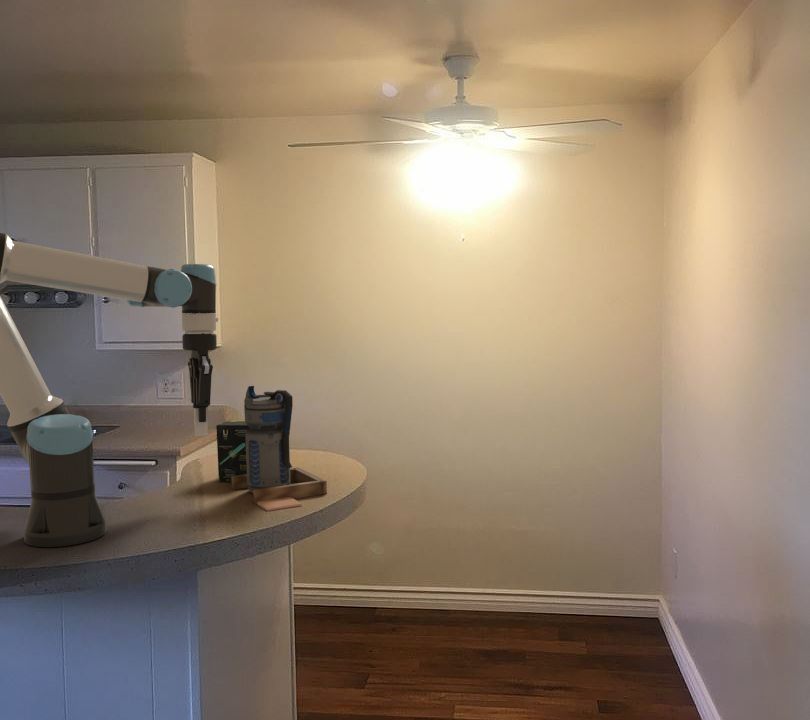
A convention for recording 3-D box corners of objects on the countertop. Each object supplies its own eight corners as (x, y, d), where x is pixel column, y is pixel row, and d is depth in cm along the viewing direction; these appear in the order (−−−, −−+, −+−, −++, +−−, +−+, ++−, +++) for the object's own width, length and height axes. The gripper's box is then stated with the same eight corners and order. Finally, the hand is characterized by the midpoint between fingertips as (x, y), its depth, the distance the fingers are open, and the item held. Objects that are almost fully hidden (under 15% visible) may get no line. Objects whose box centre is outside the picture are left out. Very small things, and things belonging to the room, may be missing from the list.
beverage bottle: (279, 499, 189) (275, 390, 186) (236, 493, 196) (232, 388, 193) (307, 490, 197) (303, 385, 195) (265, 484, 204) (261, 383, 202)
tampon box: (271, 474, 215) (269, 418, 214) (259, 482, 206) (257, 424, 205) (231, 474, 217) (229, 418, 216) (217, 482, 208) (215, 424, 207)
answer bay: (255, 504, 185) (255, 491, 185) (231, 488, 201) (231, 476, 200) (326, 493, 193) (326, 480, 193) (298, 479, 209) (298, 467, 209)
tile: (267, 511, 179) (266, 508, 179) (255, 503, 186) (255, 500, 186) (301, 505, 183) (301, 503, 183) (288, 498, 190) (288, 496, 190)
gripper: (223, 333, 184) (225, 438, 185) (208, 331, 195) (210, 430, 197) (189, 333, 180) (191, 441, 182) (176, 332, 192) (178, 433, 193)
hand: (201, 435), depth 189 cm, fingers closed
